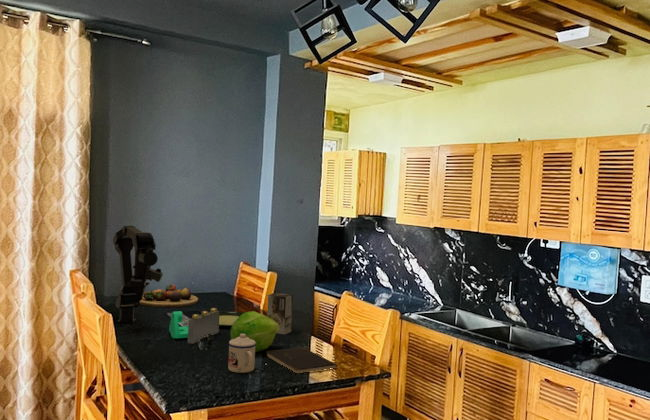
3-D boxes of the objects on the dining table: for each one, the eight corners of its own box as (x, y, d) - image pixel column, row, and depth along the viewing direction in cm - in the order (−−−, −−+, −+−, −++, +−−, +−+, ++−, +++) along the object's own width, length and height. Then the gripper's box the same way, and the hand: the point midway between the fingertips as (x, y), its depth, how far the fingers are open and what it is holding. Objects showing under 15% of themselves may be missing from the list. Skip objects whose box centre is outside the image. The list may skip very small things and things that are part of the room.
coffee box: (291, 332, 238) (293, 294, 238) (284, 335, 232) (286, 296, 232) (273, 328, 242) (275, 292, 241) (265, 331, 236) (267, 294, 236)
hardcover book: (296, 376, 181) (296, 369, 181) (265, 357, 200) (265, 351, 200) (337, 370, 189) (337, 363, 189) (303, 352, 209) (304, 346, 209)
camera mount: (194, 339, 218) (195, 313, 218) (175, 341, 214) (176, 314, 214) (187, 332, 228) (188, 307, 228) (169, 333, 225) (170, 308, 225)
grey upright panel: (193, 343, 211) (194, 316, 211) (187, 343, 212) (188, 315, 212) (218, 332, 230) (219, 307, 230) (213, 331, 231) (214, 307, 231)
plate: (271, 321, 257) (271, 316, 257) (237, 333, 231) (237, 327, 231) (221, 313, 268) (221, 308, 268) (183, 324, 243) (184, 318, 243)
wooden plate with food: (151, 295, 307) (152, 280, 307) (206, 299, 303) (207, 284, 303) (123, 305, 276) (124, 289, 276) (184, 310, 271) (184, 293, 271)
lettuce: (287, 350, 209) (290, 319, 205) (240, 365, 198) (241, 332, 193) (268, 332, 220) (270, 302, 216) (222, 346, 209) (222, 314, 205)
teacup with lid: (222, 366, 185) (224, 332, 185) (247, 363, 190) (249, 329, 190) (237, 377, 175) (239, 341, 175) (263, 373, 180) (265, 338, 180)
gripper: (157, 266, 220) (156, 305, 220) (165, 261, 238) (163, 297, 239) (128, 265, 218) (127, 304, 219) (138, 260, 237) (137, 296, 237)
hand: (140, 300), depth 228 cm, fingers closed
